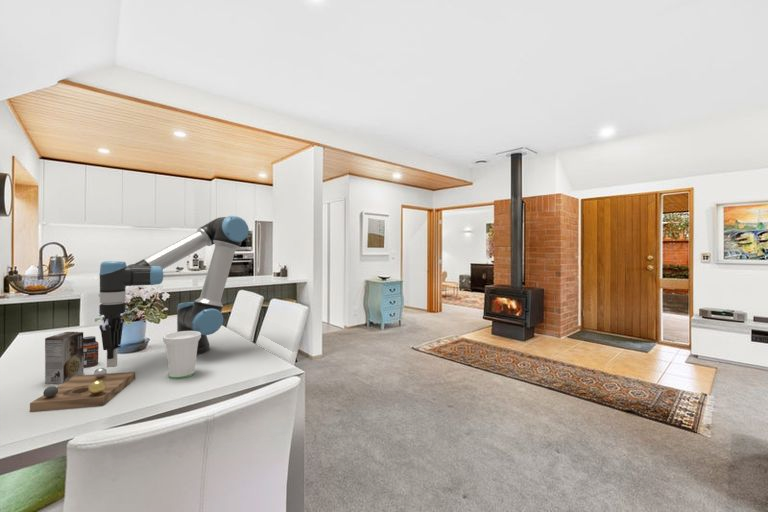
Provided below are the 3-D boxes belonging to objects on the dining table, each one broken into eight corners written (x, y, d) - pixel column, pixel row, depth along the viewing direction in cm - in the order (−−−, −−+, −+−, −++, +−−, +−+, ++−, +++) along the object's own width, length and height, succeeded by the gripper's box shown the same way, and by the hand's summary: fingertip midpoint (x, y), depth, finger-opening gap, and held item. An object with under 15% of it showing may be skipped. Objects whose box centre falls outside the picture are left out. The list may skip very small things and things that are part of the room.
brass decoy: (108, 390, 108) (108, 377, 108) (101, 396, 104) (101, 382, 104) (92, 391, 107) (92, 378, 107) (84, 397, 103) (85, 383, 103)
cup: (160, 383, 121) (161, 340, 121) (164, 371, 132) (164, 332, 132) (200, 377, 127) (200, 336, 126) (200, 367, 138) (201, 329, 138)
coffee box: (66, 374, 127) (66, 331, 127) (84, 374, 128) (84, 331, 128) (43, 384, 118) (43, 337, 118) (63, 383, 119) (63, 337, 118)
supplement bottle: (86, 368, 134) (87, 339, 134) (74, 366, 135) (74, 338, 135) (102, 363, 140) (102, 336, 140) (90, 362, 141) (90, 335, 141)
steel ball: (108, 375, 120) (108, 366, 120) (103, 379, 117) (103, 369, 117) (97, 376, 119) (97, 366, 119) (91, 380, 116) (91, 370, 116)
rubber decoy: (60, 394, 105) (60, 383, 105) (53, 398, 102) (53, 388, 101) (47, 395, 104) (48, 384, 104) (40, 399, 101) (40, 389, 101)
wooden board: (76, 382, 120) (76, 375, 120) (135, 378, 124) (135, 371, 124) (29, 411, 99) (29, 403, 98) (103, 405, 103) (103, 397, 103)
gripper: (109, 300, 131) (109, 361, 131) (90, 306, 118) (89, 373, 119) (132, 300, 133) (131, 360, 133) (115, 305, 120) (115, 371, 121)
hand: (112, 366), depth 126 cm, fingers closed
